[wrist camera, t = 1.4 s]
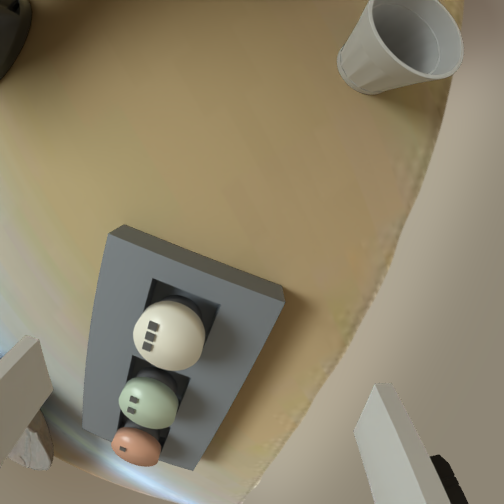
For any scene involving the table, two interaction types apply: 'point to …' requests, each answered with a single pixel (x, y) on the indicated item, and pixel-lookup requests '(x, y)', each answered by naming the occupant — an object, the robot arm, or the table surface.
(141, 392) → the button two
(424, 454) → the robot arm
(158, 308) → the button three
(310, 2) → the table surface
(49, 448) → the bowl
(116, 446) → the button one
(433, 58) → the cup
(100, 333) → the console
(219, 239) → the table surface
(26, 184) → the table surface
